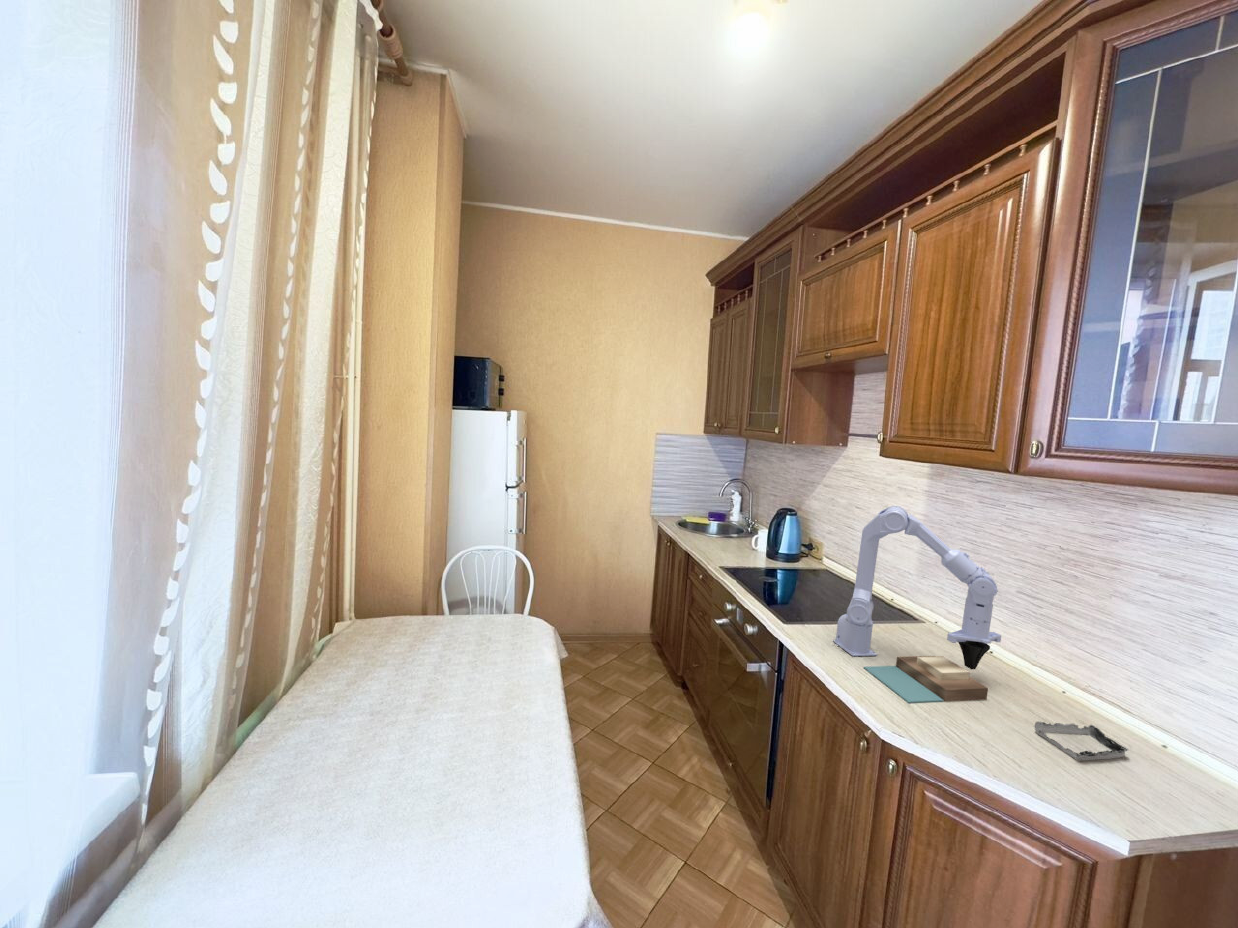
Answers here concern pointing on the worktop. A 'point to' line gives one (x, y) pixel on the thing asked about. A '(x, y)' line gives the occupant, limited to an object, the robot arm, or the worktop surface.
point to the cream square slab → (943, 668)
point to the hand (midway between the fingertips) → (970, 667)
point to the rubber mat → (903, 684)
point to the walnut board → (942, 682)
